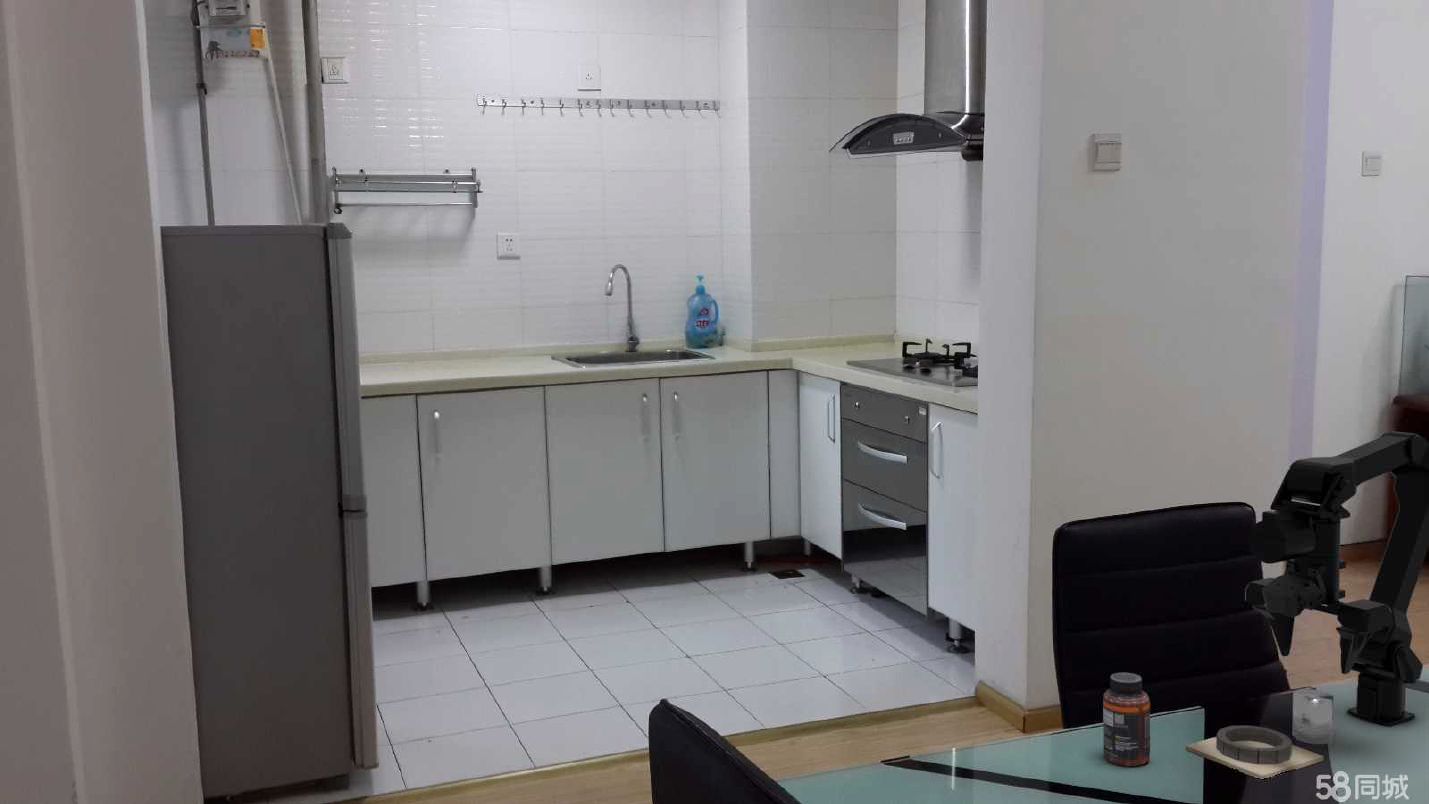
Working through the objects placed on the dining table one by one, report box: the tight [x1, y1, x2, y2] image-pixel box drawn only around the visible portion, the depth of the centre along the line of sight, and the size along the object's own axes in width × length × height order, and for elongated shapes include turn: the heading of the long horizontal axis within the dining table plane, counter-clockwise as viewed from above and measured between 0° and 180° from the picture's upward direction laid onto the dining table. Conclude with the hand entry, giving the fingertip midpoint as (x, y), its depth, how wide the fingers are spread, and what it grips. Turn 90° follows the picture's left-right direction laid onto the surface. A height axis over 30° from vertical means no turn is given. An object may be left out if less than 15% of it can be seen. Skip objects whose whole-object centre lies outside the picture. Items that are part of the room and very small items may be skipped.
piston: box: [1292, 688, 1334, 745], centre depth 172 cm, size 5×5×6 cm
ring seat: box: [1185, 725, 1324, 780], centre depth 166 cm, size 12×12×2 cm
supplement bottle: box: [1102, 672, 1151, 767], centre depth 166 cm, size 6×6×11 cm
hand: (1314, 664), depth 171 cm, fingers open, 9 cm apart
